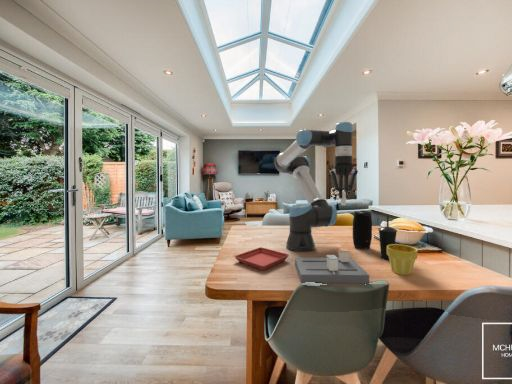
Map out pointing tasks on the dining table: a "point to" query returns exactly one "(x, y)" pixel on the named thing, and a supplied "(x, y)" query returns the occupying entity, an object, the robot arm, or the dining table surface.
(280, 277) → the dining table surface
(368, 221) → the portable speaker
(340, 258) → the block
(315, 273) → the fader board
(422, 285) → the dining table surface
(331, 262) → the fader front
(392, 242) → the black bottle
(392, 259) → the plant pot
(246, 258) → the plant saucer
